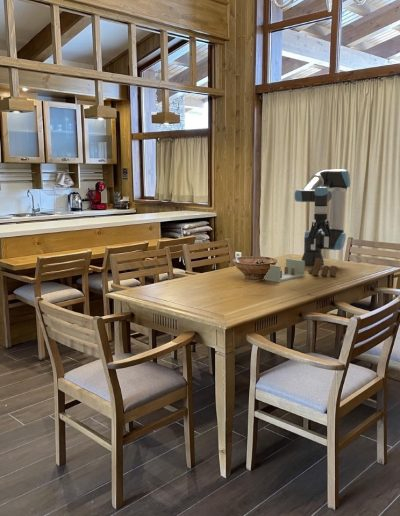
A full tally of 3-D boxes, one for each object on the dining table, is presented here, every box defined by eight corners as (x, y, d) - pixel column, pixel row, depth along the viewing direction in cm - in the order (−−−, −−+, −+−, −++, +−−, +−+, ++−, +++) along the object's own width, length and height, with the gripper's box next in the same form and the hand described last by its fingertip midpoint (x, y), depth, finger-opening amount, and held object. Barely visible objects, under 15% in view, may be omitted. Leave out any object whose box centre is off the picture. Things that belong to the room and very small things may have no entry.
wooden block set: (336, 280, 296) (340, 264, 297) (330, 277, 289) (334, 260, 290) (308, 275, 307) (312, 259, 308) (303, 272, 300) (307, 256, 302)
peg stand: (287, 272, 308) (287, 258, 306) (304, 275, 298) (304, 260, 297) (261, 278, 291) (261, 263, 290) (278, 282, 282) (278, 266, 280)
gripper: (327, 211, 302) (326, 245, 306) (302, 214, 286) (302, 250, 290) (337, 212, 297) (336, 246, 300) (313, 215, 280) (312, 251, 284)
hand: (319, 248), depth 295 cm, fingers open, 13 cm apart
